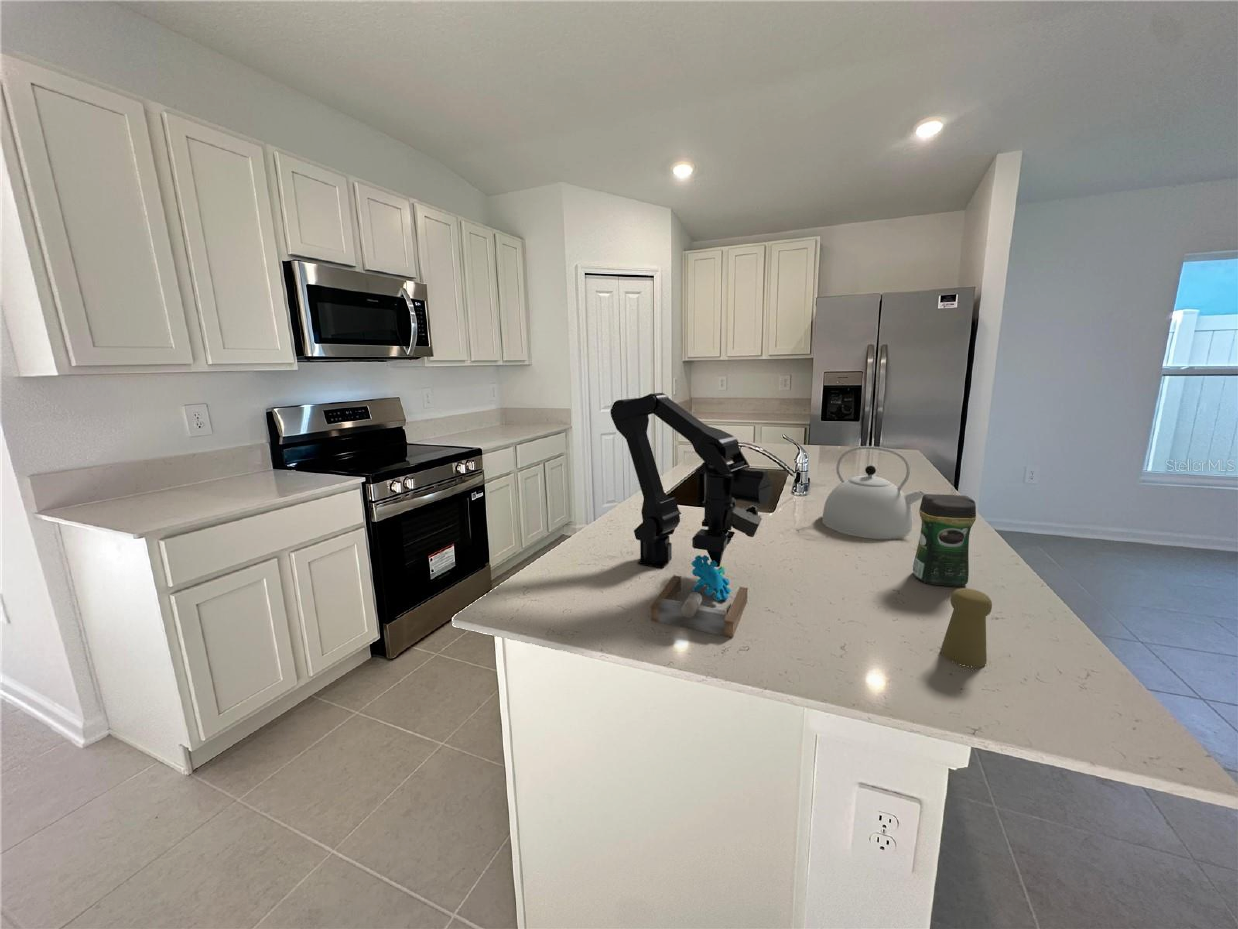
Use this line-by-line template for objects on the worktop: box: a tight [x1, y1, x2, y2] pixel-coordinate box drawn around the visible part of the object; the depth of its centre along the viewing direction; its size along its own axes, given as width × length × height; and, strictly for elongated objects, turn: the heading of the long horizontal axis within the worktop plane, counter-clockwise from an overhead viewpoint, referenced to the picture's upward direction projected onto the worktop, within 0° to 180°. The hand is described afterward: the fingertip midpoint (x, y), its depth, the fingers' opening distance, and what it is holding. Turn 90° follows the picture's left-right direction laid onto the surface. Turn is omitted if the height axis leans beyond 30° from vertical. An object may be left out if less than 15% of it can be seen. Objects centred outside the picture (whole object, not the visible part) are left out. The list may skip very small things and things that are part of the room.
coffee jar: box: [912, 493, 977, 587], centre depth 101 cm, size 10×8×19 cm
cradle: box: [650, 574, 749, 638], centre depth 91 cm, size 15×15×6 cm
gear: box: [691, 554, 732, 602], centre depth 99 cm, size 11×6×10 cm
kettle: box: [821, 445, 926, 540], centre depth 134 cm, size 25×23×22 cm
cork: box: [940, 587, 993, 668], centre depth 76 cm, size 6×6×11 cm
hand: (717, 566), depth 103 cm, fingers closed
